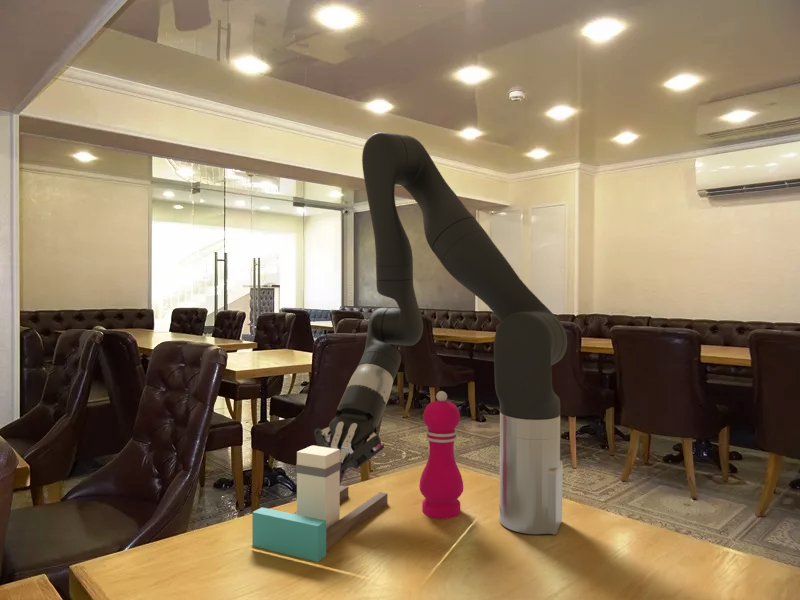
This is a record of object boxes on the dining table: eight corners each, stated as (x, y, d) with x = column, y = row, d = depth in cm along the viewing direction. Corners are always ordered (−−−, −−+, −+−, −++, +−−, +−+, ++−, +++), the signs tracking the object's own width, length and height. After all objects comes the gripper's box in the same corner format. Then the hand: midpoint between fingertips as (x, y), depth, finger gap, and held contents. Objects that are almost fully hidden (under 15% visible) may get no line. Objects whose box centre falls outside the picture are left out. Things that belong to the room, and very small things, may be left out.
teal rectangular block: (326, 557, 76) (326, 520, 76) (317, 563, 74) (317, 526, 74) (261, 541, 81) (261, 507, 81) (252, 547, 79) (252, 512, 79)
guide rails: (387, 505, 95) (387, 493, 95) (314, 560, 75) (314, 545, 75) (341, 496, 99) (341, 485, 99) (259, 547, 79) (259, 533, 79)
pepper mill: (463, 505, 95) (463, 388, 95) (463, 522, 88) (464, 395, 88) (420, 503, 96) (421, 387, 96) (417, 520, 89) (418, 394, 88)
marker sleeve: (340, 527, 85) (340, 449, 85) (325, 538, 81) (325, 456, 81) (311, 521, 87) (312, 445, 87) (295, 532, 83) (295, 451, 83)
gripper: (325, 380, 98) (282, 470, 87) (393, 386, 92) (356, 482, 81) (341, 405, 103) (302, 493, 92) (406, 412, 97) (373, 506, 86)
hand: (327, 488), depth 86 cm, fingers closed
